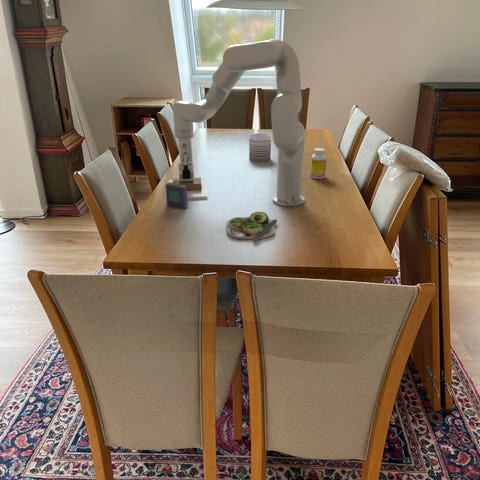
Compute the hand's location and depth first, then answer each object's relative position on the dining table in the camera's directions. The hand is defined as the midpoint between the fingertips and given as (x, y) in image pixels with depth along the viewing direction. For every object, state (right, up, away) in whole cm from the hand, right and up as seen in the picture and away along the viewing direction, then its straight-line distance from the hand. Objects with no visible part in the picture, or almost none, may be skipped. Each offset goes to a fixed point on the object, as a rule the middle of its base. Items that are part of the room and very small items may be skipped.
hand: (186, 176), depth 193 cm
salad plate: (+26, -23, -33) cm, 48 cm away
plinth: (0, -4, +2) cm, 5 cm away
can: (+32, +14, +44) cm, 56 cm away
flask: (-2, -14, -14) cm, 20 cm away
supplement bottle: (+57, +2, +18) cm, 60 cm away
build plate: (0, -6, +3) cm, 6 cm away
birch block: (0, -1, 0) cm, 1 cm away
